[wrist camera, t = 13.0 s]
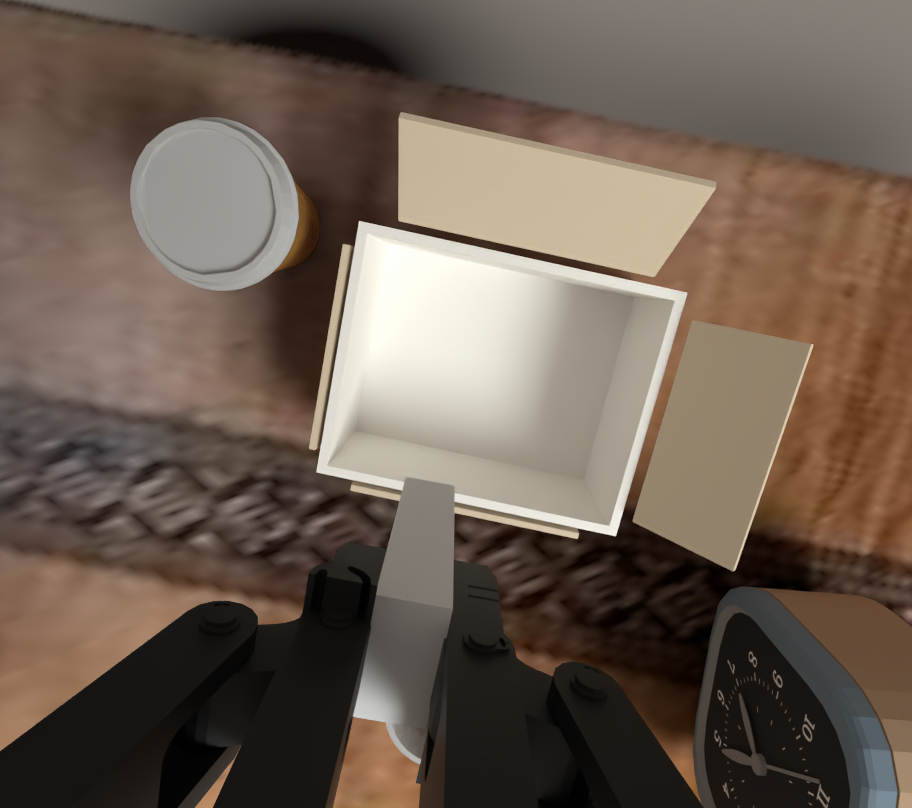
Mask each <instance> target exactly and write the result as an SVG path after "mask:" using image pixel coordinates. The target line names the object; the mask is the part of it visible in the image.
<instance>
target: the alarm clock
mask: <svg viewBox="0 0 912 808" xmlns="http://www.w3.org/2000/svg"><path fill="white" fill-rule="evenodd" d="M693 757H694V772H695V778H696V783H697V789H698V794H699V797H700V801H701V804H702V806H703V807H704V808H912V627H911V626H910V625H908V624H907V623H906V622H905V621H903V620H902V619H901V618H899V617H898V616H897V615H896V614H894V613H893V612H892V611H890V610H889V609H887V608H886V607H884V606H883V605H881V604H879V603H878V602H876V601H875V600H871V599H868V598H865V597H862V596H858V595H845V594H833V593H820V592H807V591H795V590H782V589H769V588H756V587H744V586H742V587H738V588H734V589H730V590H729V591H728V592H727V594H726V595H725V596H724V597H723V599H722V600H721V601H720V603H719V604H718V608H717V613H716V617H715V620H714V624H713V627H712V631H711V636H710V641H709V647H708V653H707V658H706V664H705V669H704V675H703V681H702V686H701V692H700V697H699V703H698V708H697V714H696V722H695V733H694V744H693Z"/></svg>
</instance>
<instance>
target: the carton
mask: <svg viewBox="0 0 912 808" xmlns="http://www.w3.org/2000/svg"><path fill="white" fill-rule="evenodd" d="M686 296H687V293H686V292H681V291H677V290H672V289H668V288H663V287H659V286H654V285H649V284H645V283H640V282H636V281H631V280H627V279H622V278H618V277H613V276H608V275H604V274H599V273H595V272H590V271H586V270H581V269H576V268H572V267H567V266H563V265H558V264H554V263H549V262H545V261H540V260H535V259H531V258H526V257H522V256H517V255H513V254H508V253H504V252H499V251H494V250H490V249H485V248H481V247H476V246H472V245H467V244H462V243H458V242H453V241H449V240H444V239H440V238H435V237H431V236H426V235H421V234H417V233H412V232H408V231H403V230H399V229H394V228H390V227H385V226H380V225H376V224H371V223H367V222H362V221H359V225H358V231H357V236H356V242H355V247H353V246H350V245H346V244H343V247H342V253H341V259H340V265H339V271H338V277H337V283H336V289H335V295H334V301H333V307H332V313H331V319H330V325H329V331H328V337H327V343H326V349H325V355H324V361H323V367H322V374H321V380H320V386H319V392H318V398H317V404H316V410H315V416H314V422H313V428H312V434H311V440H310V446H309V449H313V450H316V449H317V448H318V447H319V446H320V445H321V448H320V454H319V460H318V466H317V472H318V473H322V474H327V475H332V476H336V477H341V478H346V479H350V480H354V481H353V483H352V485H351V491H355V492H360V493H365V494H369V495H374V496H379V497H383V498H388V499H393V500H397V501H400V497H401V494H402V490H403V486H404V482H405V478H406V477H411V478H416V479H422V480H427V481H432V482H437V483H442V484H448V485H453V486H455V496H454V513H458V514H463V515H468V516H472V517H477V518H482V519H486V520H491V521H496V522H500V523H505V524H510V525H514V526H519V527H524V528H528V529H533V530H538V531H542V532H547V533H552V534H556V535H561V536H566V537H570V538H575V539H578V536H579V532H578V529H577V528H579V529H584V530H589V531H593V532H598V533H603V534H607V535H612V536H616V534H617V531H618V527H619V524H620V521H621V517H622V514H623V510H624V507H625V504H626V500H627V497H628V493H629V490H630V487H631V483H632V480H633V476H634V473H635V470H636V466H637V463H638V459H639V456H640V453H641V449H642V446H643V442H644V439H645V436H646V432H647V429H648V425H649V422H650V419H651V415H652V412H653V408H654V405H655V402H656V398H657V395H658V391H659V388H660V385H661V381H662V378H663V375H664V371H665V368H666V364H667V361H668V358H669V354H670V351H671V347H672V344H673V341H674V337H675V334H676V330H677V327H678V324H679V320H680V317H681V313H682V310H683V307H684V303H685V300H686Z"/></svg>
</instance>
